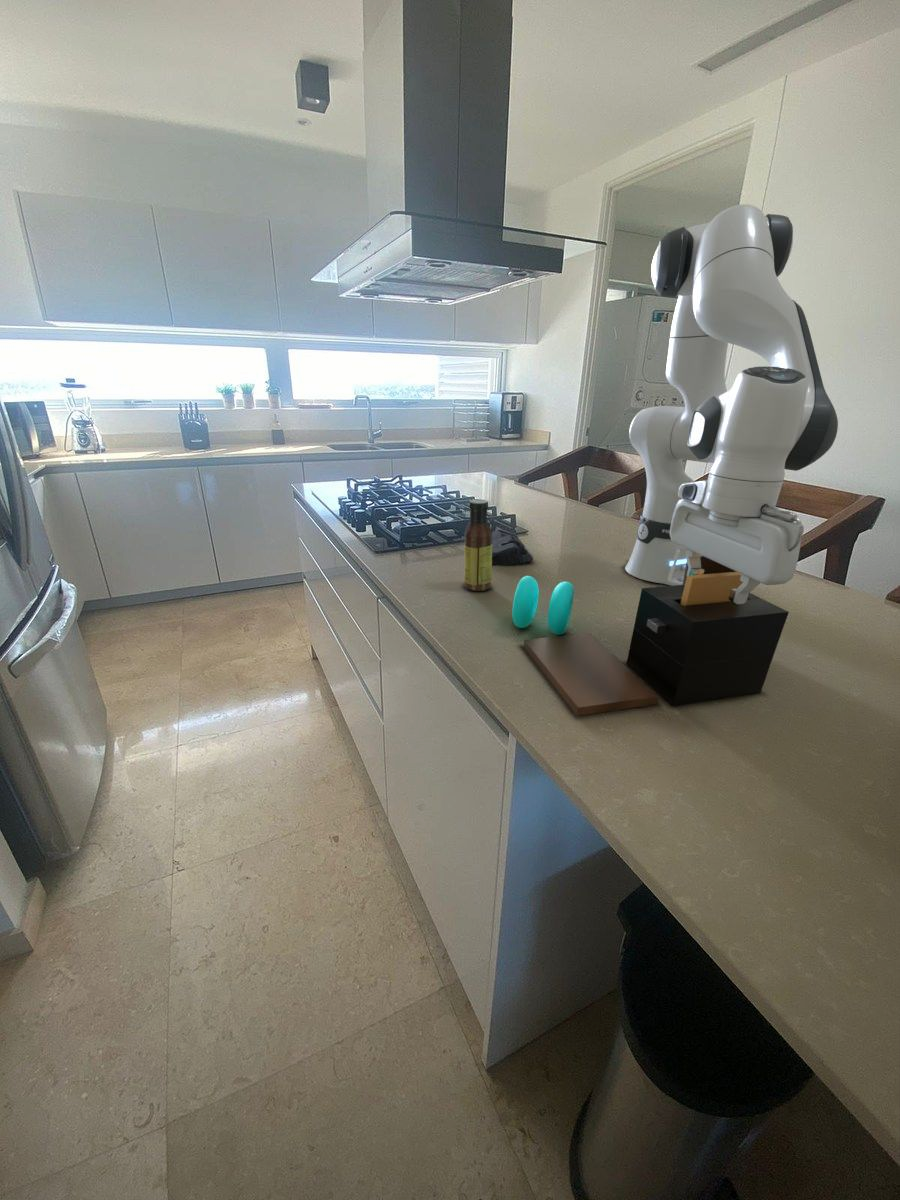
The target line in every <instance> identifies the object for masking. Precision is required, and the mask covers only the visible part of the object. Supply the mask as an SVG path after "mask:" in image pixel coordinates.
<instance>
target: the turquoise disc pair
mask: <svg viewBox="0 0 900 1200" xmlns="http://www.w3.org/2000/svg"><path fill="white" fill-rule="evenodd" d="M539 595H540V590H539V585H538V581H537V580H536V578H534V577H533V576H532V575H525V576H523V577H521V578H520V579H519V581H518V583H517V586H516V589H515V591H514V597H513V602H512V611H511V613H512V615H511V616H512V621H513V624H514V625H515V626H516V627H517V628H520V629H524V628H527V627H528V626H529V625H531V623H532V622H533V620H534V618H535V615H536V613H537V609H538V604H539V598H540V597H539ZM574 595H575V588H574V585H573V584H572V583H571V582H569V581H561V582H559V583H558V584H557V585H556V586H555V588H554V589H553V590H552V593H551V597H550V601H549V606H548V613H547V625H548V628H549V630H550V631H551V632H552V633H553V634H554V635H558V636H562V635H564V634H565V633H566V632H567V629H569V624H570V620H571V615H572V609H573V603H574Z"/></svg>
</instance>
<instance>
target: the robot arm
mask: <svg viewBox="0 0 900 1200" xmlns="http://www.w3.org/2000/svg"><path fill="white" fill-rule="evenodd" d="M793 226H794V225H793V223H792V222H791V220H790V217H789V216H786V215H782V214H773V213H767V214H766V215H765V214H764V212H763V211H762V210H761V209H760V208H758V207H757V206H755V205H753V204H747V203H744V204H737V205H733V206H730V207H728V208H726V209H724V210H722V211H720V212H719V213H718V214H717V215H715V217H713V218H712V219H711V220H710V222H706V223H702V224H697V225H694V226H693V225H692V226H689V227H687V228H686V226H682V227H679V228H676V229H673V230H671V231H669V232H667V233H665V235H664V236H662V238H661V239H660V240H659V242H658V246H657V248H656V250H655V252H654V255H653V258H652V262H651V267H650V272H651V273H650V274H651V280H652V285H653V289H654V291H655V292H656V293H657V295H658V296H660V297H663V298H672V299H673V298H676V297H678V298H677V301H676V305H675V308H674V312H673V316H672V317H673V318H672V321H671V328H670V335H669V341H668V342H669V343H668V348H667V349H668V350H667V359H666V366H665V367H666V368H665V377H666V380H667V382H668V384H669V385H670V386H671V387H673V388H675V389H676V390H677V391H678V392H679V393H680V394H681V397H682V399H683V401H684V402H683V403H684V406H675V405H657V406H652V407H647V408H643V409H640V411H638V412H637V414H635V416H634V418H633V419H632V421H631V423H630V425H629V431H628V437H629V442H630V444H631V446H632V448H633V449H634V450H635V451H636V453H638V455H639V457H640V458H641V461H642V463H643V466H644V471H645V476H646V490H645V498H644V503H643V509H642V510H643V511H642V514H641V515H640V517H639V519H638V520H639V521H638V525H637V533H636V534H637V536H636V539H635V544H634V546H633V550H632V552H631V555H630V557H629V559H628V562H627V564H626V565H625V567H624V570H625V572H627V573H628V574H629V575H631V576H632V577H634V578H638V579H640V580H642V581H647V582H652V583H658V584H663V585H666V586H674V585H683V579H684V573H685V568H686V562H687V564H688V567H689V568H688V572H687V576H690V575H702V574H704V569H702V568H701V561H700V557H702V556H704V557H706V558H708V559H711V560H713V561H715V562H717V563H719V564H721V565H724V566H726V567H728V568H730V569H732V570H734V571H737V572H739V573H741V574H742V575H741V578H740V581H742V582H743V583H742V584H741V585H740V586H739V587H738V588H737V589H731V591H730V596H729V600H730V601H732V602H734V603H736V604H744V603H745V602H746V601H747V598H748V595H749V593H751V592H752V591H753V590H755V589H756V588H757V587H758V586H759V585H760V584H763V585H766V586H776V585H785V584H786V583H788V582H790V581H791V580H792V579H793V578H794V576H795V573H796V569H797V565H798V561H799V556H800V551H801V544H802V543H801V542H802V539H803V538H802V537H803V535H804V532H805V527H804V525H803V523H802V521H801V520H800V518H799V517H798V515H797V514H796V513H794V512H793V511H789V510H782V509H780V508H778V507H776V506H777V503H778V501H779V500H778V499H779V497H780V493H781V490H782V487H783V484H784V480H785V470H789V471H800V470H802V469H805V468H806V467H808V466H810V465H812V464H813V463H815V462H816V461H818V460H820V458H822V457H823V456H824V455H826V453H827V452H829V450H830V449H831V448H832V446H833V445H834V442H835V440H836V437H837V434H838V430H839V429H838V428H839V420H838V415H837V412H836V409H835V406H834V405H833V403H832V401H831V399H830V398H829V396H828V394H827V391H826V389H825V386H824V382H823V378H822V375H821V370H820V367H819V363H818V360H817V354H816V350H815V347H814V342H813V338H812V335H811V331H810V327H809V324H808V320H807V318H806V315H805V312H804V310H803V308H802V306H801V305H800V304H799V303H797V302H796V300H794V299H792V298H791V296H790V295H789V294H788V293H787V291H785V289H784V288H783V286H782V284H781V283H780V280H779V278H778V277H779V276H781V274H782V273H783V271H784V269H785V268H786V266H787V264H788V261H789V259H790V256H791V253H792V250H793V245H794V227H793ZM729 344H731V345H734V346H738V347H741V348H743V349H746V350H749V351H750V352H753V353H755V354H757V355H759V356H760V357H762V358H763V359H764V360H765V361H766V362H767V363H768V365H769V366H753V367H748V368H745V369H743V370H741V371H740V372H739V373H738V374H737V376H736V378H735V380H734V383H733V385H732V387H731V388H729V389H728V390H727V385H726V376H725V375H726V361H727V354H728V353H727V352H728V346H729ZM683 460H686V461H692V462H699V463H705V464H706V463H711V464H712V466H711V468H710V470H709V473H708V477H707V479H706V480H705V479H704V480H699V481H694V479H693V478H691V477H690V476H689V475H688V474H687V473H686V470H685V469H684V465H683Z"/></svg>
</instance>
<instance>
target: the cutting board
mask: <svg viewBox="0 0 900 1200" xmlns="http://www.w3.org/2000/svg"><path fill="white" fill-rule="evenodd" d="M523 649H524V650H525V651H526V652H527V654H528V655H529V657H530V658H531V659H532V660H533V662H535V664H536V665H537V667H539V669H540V670H541V672H542V673H543V675H545V677H546V678H547V680H548V681H549V682H550V683H551V685H552V686H553V687H554V689H555V690H556V691H557V692H558V693H559V695H560V696H561V698H562V699H563V700H564V701H565V702H566V704H567V705H568V707H570V709H571V711H572V712H574V714H575V715H576V717H579V716H580V717H581V716H586V715H593V714H600V713H606V712H613V711H619V710H620V711H621V710H625V709H626V710H628V709H633V708H640V707H646V706H653V705H657V704H658V703H657V702H658V698H659V694H658V693H656V692H655V691H654V690H652V688H651V687H650V686H649V685H648V684H647V683H646V682H645V681H644V680H643V681H642V679H640V677H639V676H638V675H637V674H636V673H635V672H634V671H633V670H632V669H631V668H629V667H627V666H626V664H624V662H622V661H621V660H620V659H619V658H618V657H616V655H615V654H614V653H612V651H610V650H609V649H608V647H606V646H605V644H603V643H601V641H599V640H598V639H597V638H596V637H595V635H593V634H592V633H591V632H586V633H585V632H584V633H575V634H567V635H558V636H548V637H539V638H538V637H537V638H529V639H524V640H523Z"/></svg>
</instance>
